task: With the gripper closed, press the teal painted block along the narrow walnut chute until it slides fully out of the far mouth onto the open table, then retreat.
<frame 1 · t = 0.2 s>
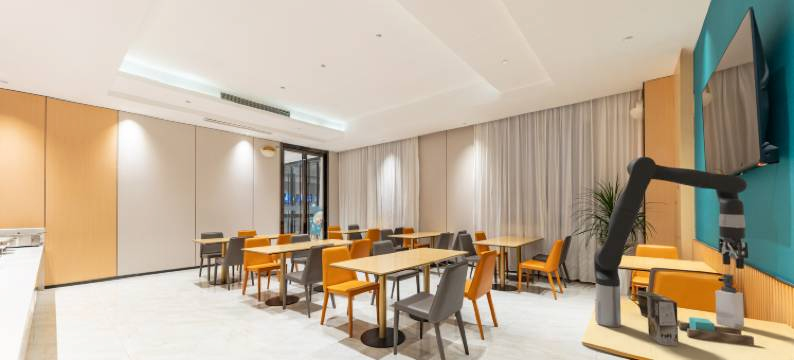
hand: (733, 266, 139), 28 cm above the table, fingers open, 8 cm apart
coffee box: (662, 341, 135), on the table
ceramic cup: (645, 315, 165), on the table
soap dispenser: (728, 326, 152), on the table
block: (701, 335, 141), on the table
chute: (714, 336, 139), on the table
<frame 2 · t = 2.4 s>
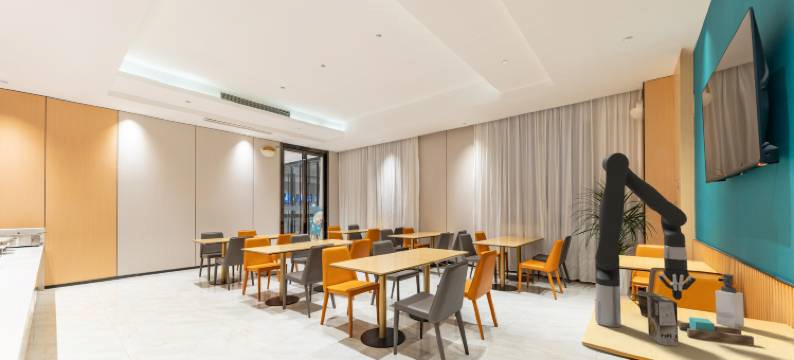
hand: (677, 299, 144), 13 cm above the table, fingers closed
nothing on the table moved.
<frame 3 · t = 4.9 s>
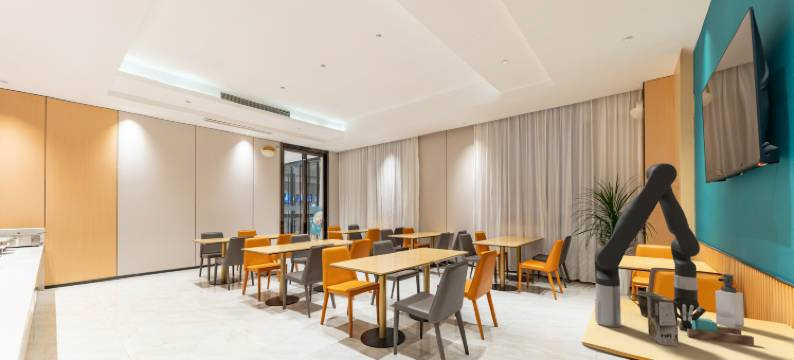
hand: (686, 329, 143), 2 cm above the table, fingers closed
block: (704, 335, 141), on the table, touching gripper, hand
everything else where it was.
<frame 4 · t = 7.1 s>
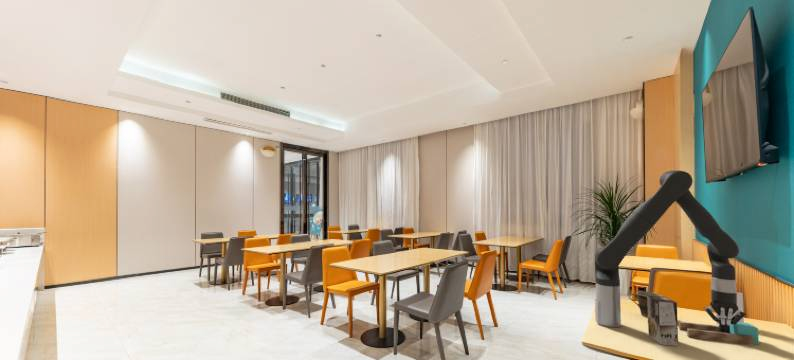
hand: (724, 333, 138), 2 cm above the table, fingers closed
block: (744, 340, 136), on the table, touching gripper
everything else where it was.
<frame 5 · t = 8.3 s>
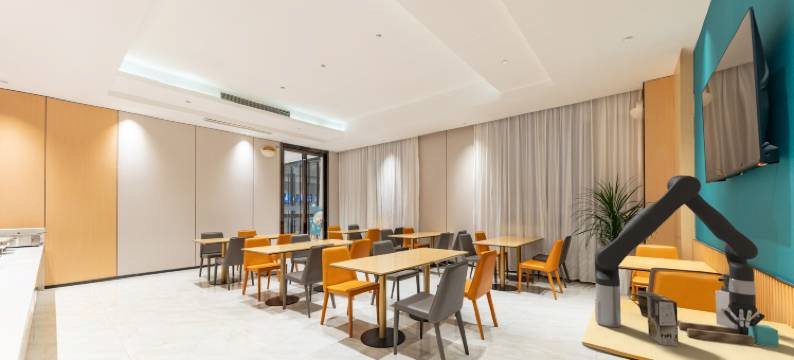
hand: (743, 335, 136), 2 cm above the table, fingers closed
block: (763, 342, 134), on the table, touching gripper
everything else where it was.
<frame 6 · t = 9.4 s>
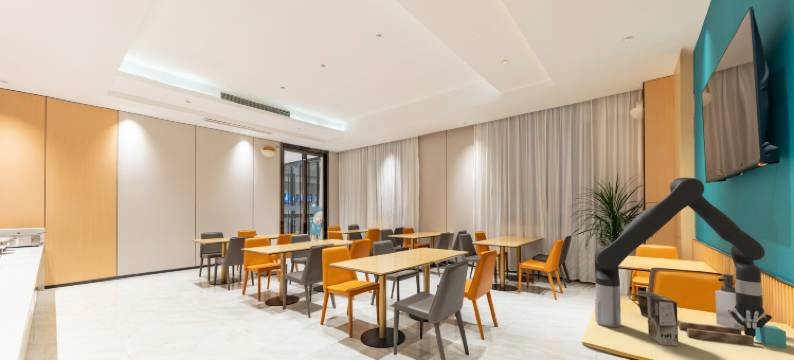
hand: (750, 337, 136), 2 cm above the table, fingers closed
block: (770, 343, 133), on the table, touching gripper
everything else where it was.
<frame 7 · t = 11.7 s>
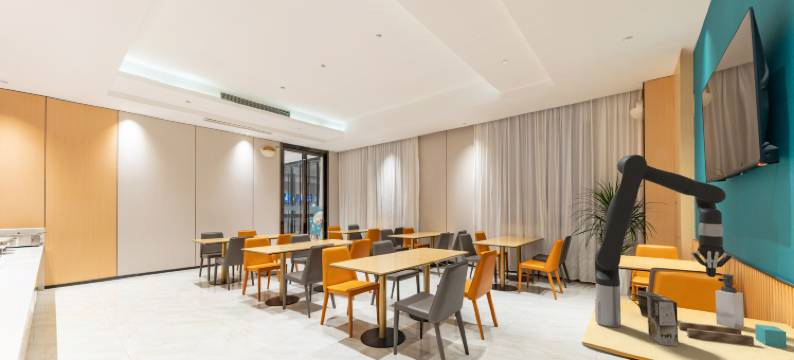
hand: (711, 276, 143), 23 cm above the table, fingers closed
block: (770, 343, 133), on the table
everything else where it was.
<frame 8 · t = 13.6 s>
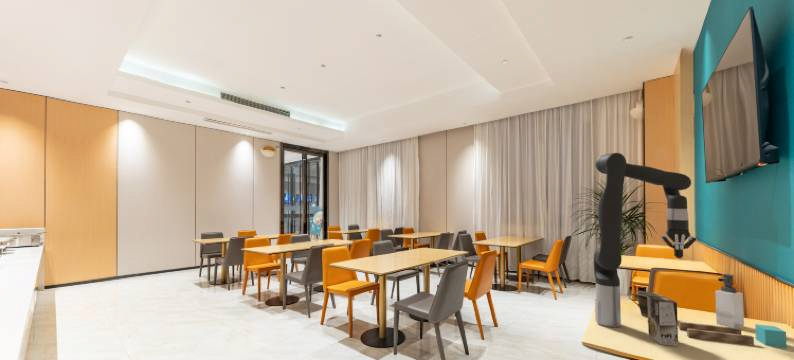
hand: (678, 257, 155), 29 cm above the table, fingers closed
nothing on the table moved.
at the end: block inside the target area (1.0 cm from its centre), on the table; block tilted 0°; block touching table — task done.
